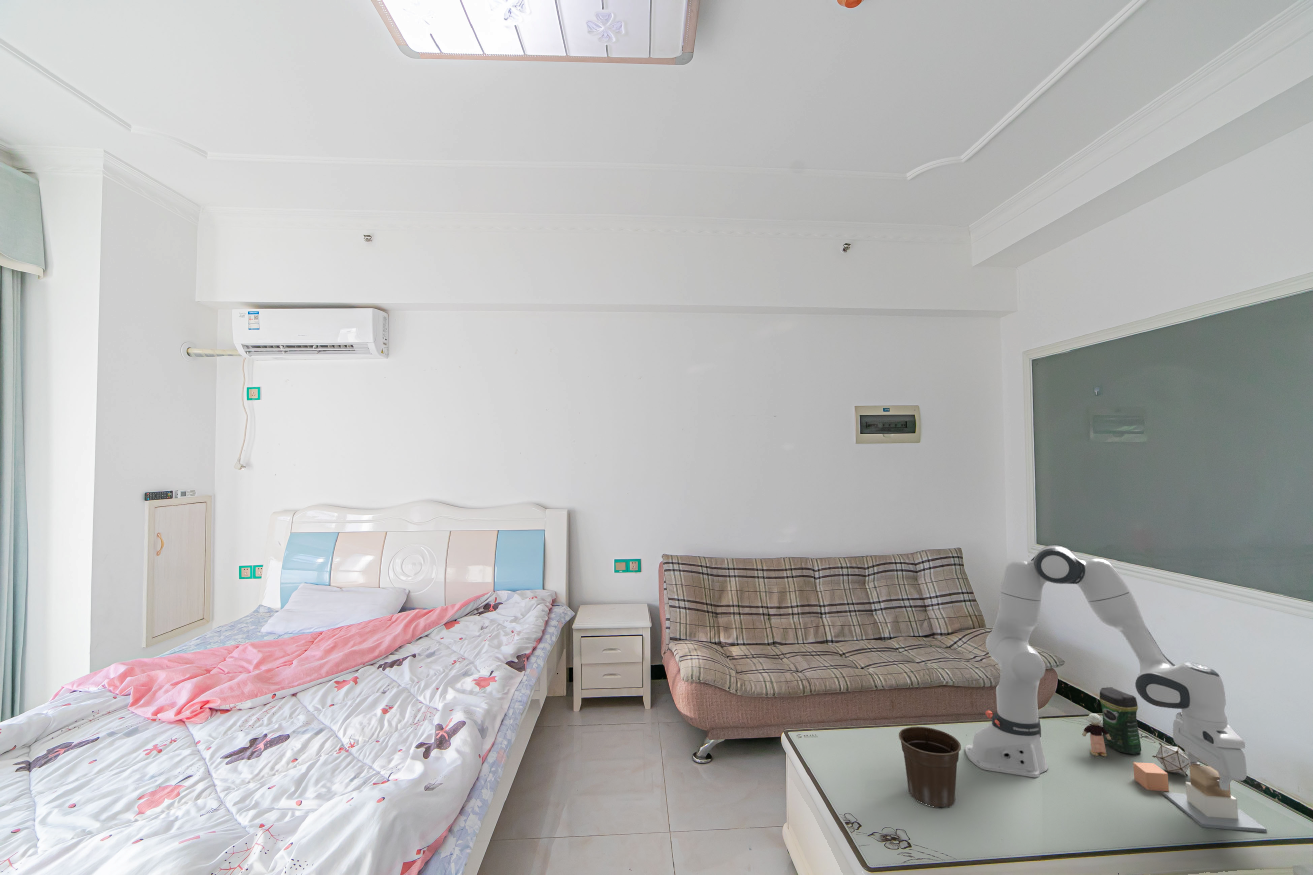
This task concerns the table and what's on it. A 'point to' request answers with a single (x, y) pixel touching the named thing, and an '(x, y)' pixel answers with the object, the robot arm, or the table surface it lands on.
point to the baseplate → (1213, 820)
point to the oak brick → (1207, 781)
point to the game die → (1172, 759)
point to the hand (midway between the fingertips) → (1208, 778)
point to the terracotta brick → (1151, 776)
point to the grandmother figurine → (1096, 735)
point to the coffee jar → (1120, 720)
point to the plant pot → (930, 764)
